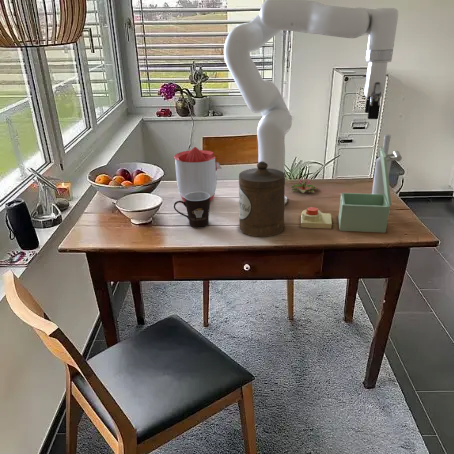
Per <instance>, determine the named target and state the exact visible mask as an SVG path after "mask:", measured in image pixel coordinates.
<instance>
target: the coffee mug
mask: <svg viewBox="0 0 454 454" xmlns="http://www.w3.org/2000/svg"><path fill="white" fill-rule="evenodd" d="M184 198H185V202H184V201H183V200H177V201H175V202H174V203H173V209H174V211H175V212H177V213H178V214H179V215H181V216H183V217H185V218H187V220H188V223H189V226H190V227H191V228H194V229H202V228H206V227H208V226H209V220H210V203H211V201H210V194H208V193H205V192H192V193H188V194H186V195H185V196H184ZM179 203H181V204H183V206H184V207H185V209H186V213H187V214H185V213H183V212H181V211H179V210H178V209H177V208H176V205H177V204H179Z"/></svg>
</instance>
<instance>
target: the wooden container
mask: <svg viewBox="0 0 454 454" xmlns="http://www.w3.org/2000/svg"><path fill="white" fill-rule="evenodd" d="M267 167H268V165H267V163H265V162H263V161H261V162H259V161H258V163H257V164H256V168H248V169H244V170H242V171H241V172H240V173H238V222H239V224H238V225H239V226H238V227H239V230H240V232H242V233H243V234H244V235H247V236H251V237H261V238H262V237H271V236H276V235H278V234H280V233H282V232H283V230H284V228H285V227H284V226H285V204H284V196H286V195H285V191H286V190H285V188H286V187H285V185H286V173H285V172H284V173H283V172H282V171H280V170H276V169H270V168H267Z"/></svg>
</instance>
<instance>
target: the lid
mask: <svg viewBox="0 0 454 454" xmlns="http://www.w3.org/2000/svg"><path fill="white" fill-rule="evenodd" d="M378 149H379V157H380V158H381V166H382V175H383V183H384V192H385V195H386V198H387V201H388V204H389V206H390V207H391V206H392V204H393V203H392V196H391V187H390V186H391V185H390V176H389V177H388V168H387V162H389V161H391V162H393V161H396V162H401V161H402V159H403V156H402V155H401V153H400V151H399V150H394V151H393V152H392V153H388V155H385V153H384V151H383V146H379V147H378ZM387 157H389V158H390V159H386V158H387Z"/></svg>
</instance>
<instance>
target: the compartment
mask: <svg viewBox="0 0 454 454" xmlns="http://www.w3.org/2000/svg"><path fill="white" fill-rule="evenodd" d="M390 211H391V205H390V206H389V204H388V201H387V198H386V195H385V194H372V193H363V192H362V193H361V192H360V193H359V192H341V193H340V199H339V209H338V216H337V218H338V227H339V231H342V232H364V233H365V232H367V233H385V234H386V232H387V227H388V221H389V215H390Z"/></svg>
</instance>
